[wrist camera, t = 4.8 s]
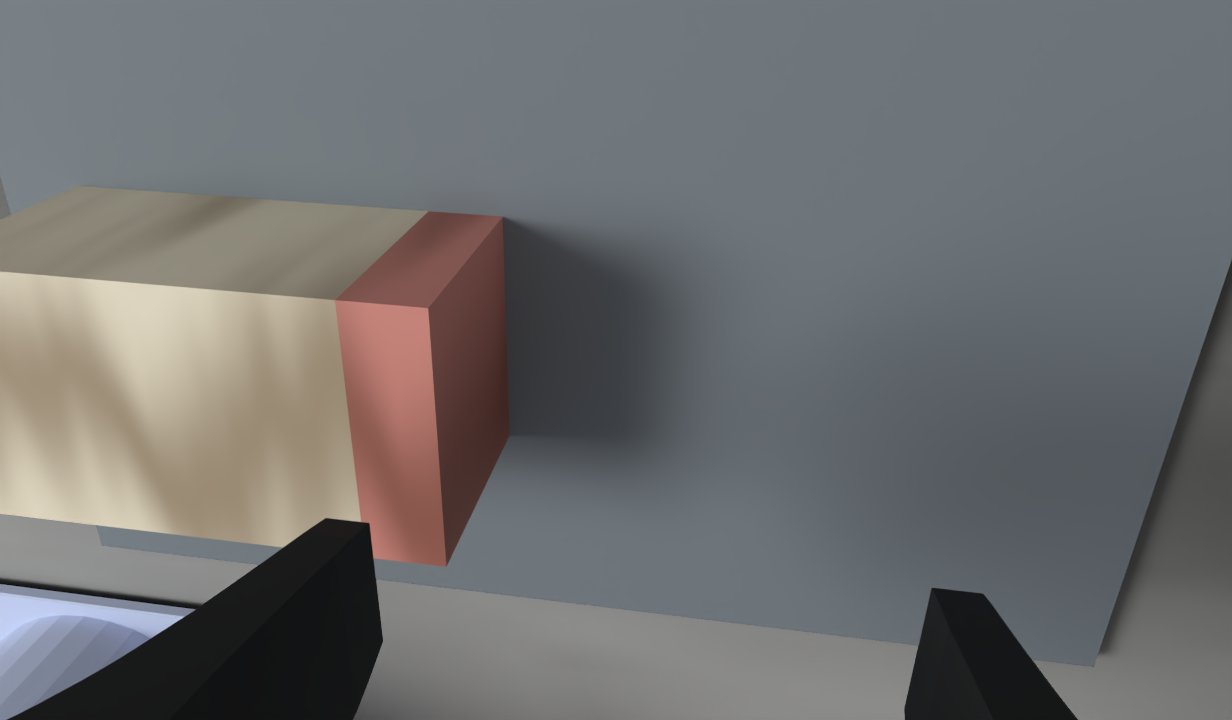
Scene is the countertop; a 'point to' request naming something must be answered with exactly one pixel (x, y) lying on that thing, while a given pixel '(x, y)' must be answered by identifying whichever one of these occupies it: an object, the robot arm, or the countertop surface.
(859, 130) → the slate mat
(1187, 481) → the countertop surface
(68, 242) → the birch block
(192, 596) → the countertop surface
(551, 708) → the countertop surface
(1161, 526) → the countertop surface
